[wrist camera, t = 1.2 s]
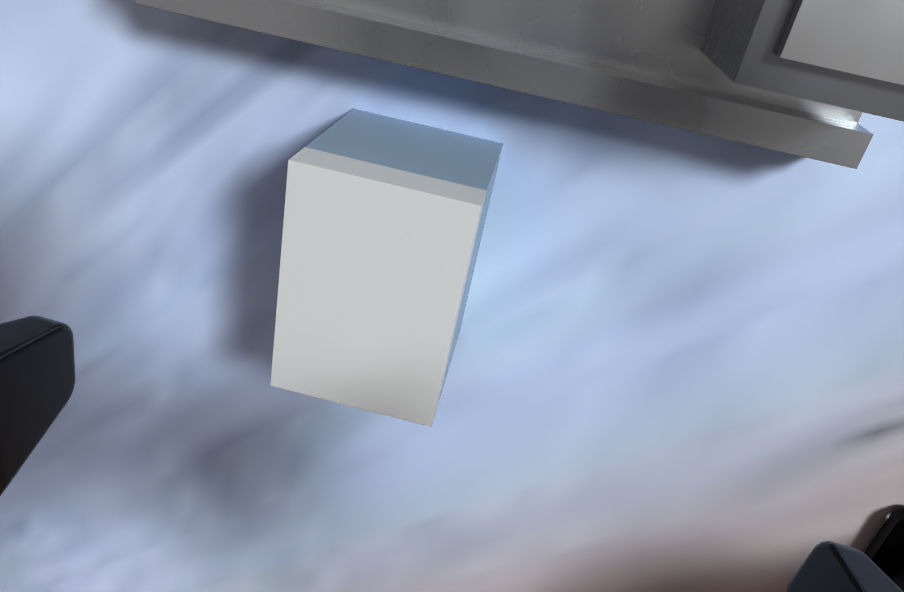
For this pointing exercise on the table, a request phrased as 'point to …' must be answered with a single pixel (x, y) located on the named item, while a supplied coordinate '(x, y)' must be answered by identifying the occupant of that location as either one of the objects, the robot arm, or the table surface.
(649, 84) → the din rail
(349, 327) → the block
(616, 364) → the table surface
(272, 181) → the table surface
